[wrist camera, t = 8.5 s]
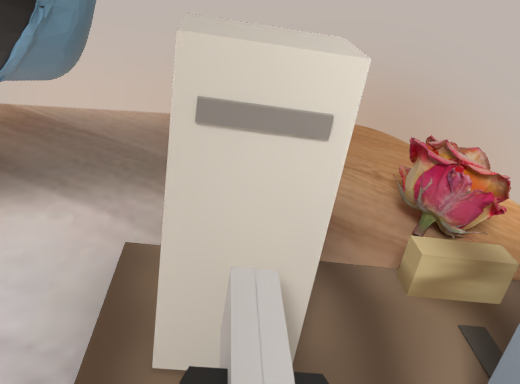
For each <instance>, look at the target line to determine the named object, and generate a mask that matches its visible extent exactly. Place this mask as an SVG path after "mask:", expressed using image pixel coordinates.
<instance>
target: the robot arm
mask: <svg viewBox="0 0 520 384" xmlns="http://www.w3.org/2000/svg"><path fill="white" fill-rule="evenodd" d="M95 4H96V0H0V82H2V81H15V80H16V81H18V80H52V79H56V78H58V77H61V76H63V75H64V74H65V73H67V72H69V71H70V70H71V69H72V68H73V67H74V66H75V65H76V63H77V62H78V60H79V58H80V56H81V55H82V52H83V50H84V48H85V45H86V42H87V39H88V35H89V31H90V28H91V24H92V19H93V14H94V9H95ZM179 384H329V383H328V381H327V380H326V378H325V377H324V375H323V374H319V373H303V372H293V367H292V361H291V354H290V347H289V341H288V334H287V327H286V321H285V314H284V307H283V301H282V294H281V288H280V281H279V274H278V271H275V270H265V269H254V268H243V267H232V266H231V268H230V274H229V280H228V287H227V293H226V300H225V306H224V313H223V319H222V325H221V332H220V368H210V367H195V366H189V367H188V369H187V371H186V372H185V374H184V375H183V377H182V379H181V380H180V382H179Z"/></svg>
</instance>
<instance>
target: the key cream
mask: <svg viewBox="0 0 520 384" xmlns="http://www.w3.org/2000/svg"><path fill="white" fill-rule="evenodd" d="M370 62H371V59H370V58H369V57H368V56H366V55H365V54H364V53H363V52H361V51H360V50H359V49H358V48H356V47H355V46H354V45H353V44H351V43H350V42H349V41H348V40H346V39H345V38H343V37H336V36H330V35H324V34H317V33H311V32H305V31H298V30H292V29H285V28H279V27H273V26H266V25H260V24H253V23H248V22H241V21H234V20H228V19H222V18H216V17H209V16H203V15H197V14H190V13H188V14H187V15H186V17H185V18H184V20H183V21H182V23H181V24H180V26H179V27H178V29H177V34H176V47H175V61H174V75H173V88H172V102H171V115H170V129H169V142H168V156H167V170H166V184H165V197H164V211H163V225H162V238H161V252H160V266H159V280H158V293H157V307H156V321H155V335H154V348H153V362H152V368H159V369H174V370H187V369H188V367H189V366H195V367H210V368H220V332H221V325H222V319H223V313H224V306H225V300H226V293H227V287H228V280H229V274H230V268H231V266H232V267H243V268H254V269H265V270H275V271H278V274H279V281H280V288H281V294H282V301H283V307H284V314H285V321H286V327H287V334H288V341H289V347H290V354H291V361H292V365H293V361H294V357H295V353H296V349H297V345H298V341H299V338H300V334H301V330H302V326H303V322H304V318H305V314H306V310H307V307H308V303H309V299H310V295H311V291H312V287H313V283H314V279H315V276H316V272H317V268H318V264H319V260H320V256H321V252H322V248H323V245H324V241H325V237H326V233H327V229H328V225H329V221H330V217H331V214H332V210H333V206H334V202H335V198H336V194H337V190H338V186H339V183H340V179H341V175H342V171H343V167H344V163H345V159H346V155H347V152H348V148H349V144H350V140H351V136H352V132H353V128H354V125H355V121H356V117H357V113H358V109H359V105H360V101H361V97H362V94H363V90H364V86H365V82H366V78H367V74H368V70H369V66H370Z"/></svg>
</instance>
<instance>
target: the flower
mask: <svg viewBox="0 0 520 384" xmlns="http://www.w3.org/2000/svg"><path fill="white" fill-rule="evenodd" d="M409 152H410V159H411V162H414V163H413V166H412V168H407V167H404V166H400V168H399V173H400V175H401V177H402V182H403V188H401V185H400V183H399V182H398V180H397V184H398V188H399V191H400V195H401V197H402V199H403V201H404V202H405V203H407V204H408V205H409V206H410V207H411V208H413V209H417V210H420V211H421V214H422V217H421V220H420V221H419V223H418V225H417V226H416V228H415V229H414V231H413V234H414V235H415V236H420V237H422V236H423V234H424V233H425V231H426V230H427V228H428V227H429V226H430V225H431V224H432V223H433V224H434V222H436V223H437V224H438V226H439V228H440V230H441V231H443V232H444V233H445V234H447V235H448V236H452V237H453V239H455V238H454V236H456V237H466V236H462V235H460V233H484V234H487V233H485V232H466V231H465V230H467V229H470V228H472V227H473V226H475V225H476V224H478V223H479V222H481V221H483V220H485V219H487V220H488V219H489V218H490V217H491V216H493V215H499V214H505V213H504V211H505V212H506V211H507V209H506V207H503V206H499V204H498V203H500V202H503V201H505V200H506V199H509V191H510V189H511V187H510V180H509V178H510V177H508V176H504V175H500V174H498V173H495V172H492V171H490V164H489V161H488V158H487V156H486V154H485V153H484V152H483V151H482V150H481V149H480V148H461V147H460V148H459V147H458V146H457V145H456V144H455V143H453V142H448V140H443V141H438V140H436V139H435V138H434V137H433V136H432V135H431V136H430V137H428V138H427V140H426V144H424V142H421V141H420V140H418V139H415V138H411V139H410V151H409ZM485 158H486V159H485ZM393 176H394V177H395V175H393ZM395 178H396V177H395ZM396 179H397V178H396ZM434 225H435V224H434ZM456 233H459V234H456ZM487 235H488V234H487ZM466 238H469V237H466ZM469 239H471V238H469ZM471 240H472V239H471ZM472 241H473V240H472Z"/></svg>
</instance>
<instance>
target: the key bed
mask: <svg viewBox="0 0 520 384" xmlns="http://www.w3.org/2000/svg"><path fill="white" fill-rule="evenodd" d="M160 252H161V246H160V245H149V244H139V243H129V242H125V245H124V247H123V250H122V253H121V256H120V259H119V261H118V264H117V267H116V270H115V272H114V275H113V278H112V281H111V283H110V286H109V289H108V292H107V295H106V297H105V300H104V303H103V306H102V308H101V311H100V314H99V317H98V319H97V322H96V325H95V328H94V331H93V333H92V336H91V339H90V342H89V344H88V347H87V350H86V353H85V355H84V358H83V361H82V364H81V367H80V369H79V372H78V375H77V378H76V380H75V383H74V384H179V382H180V380H181V379H182V377H183V375H184V374H185V372H186V371H187V370H174V369H159V368H152V362H153V348H154V335H155V321H156V307H157V293H158V280H159V266H160ZM519 265H520V264H519V263H518V262H517V261H516V260H515V259H514V258H513V257H512V256H511V255H510V253H509V252H508V251H507V250H506V249H505V248H504V247H503V246H502V245H495V244H485V243H476V242H467V241H457V240H448V239H439V238H430V237H420V236H411V235H410V238H409V241H408V244H407V247H406V250H405V252H404V255H403V258H402V261H401V264H400V266H399V269H393V268H383V267H373V266H363V265H353V264H342V263H332V262H322V261H319V264H318V268H317V272H316V276H315V279H314V283H313V287H312V291H311V295H310V299H309V303H308V307H307V310H306V314H305V318H304V322H303V326H302V330H301V334H300V338H299V341H298V345H297V349H296V353H295V357H294V361H293V365H292V367H293V372H303V373H319V374H323V375H324V377H325V378H326V380H327V381H328V383H329V384H488V382H489V380H490V378H491V376H492V375H493V373H494V371H495V369H496V367H497V365H498V363H499V361H500V359H501V358H502V356H503V354H504V352H505V350H506V348H507V346H508V344H509V342H510V341H511V339H512V337H513V335H514V333H515V331H516V329H517V327H518V325H519V324H520V281H515V280H512V279H513V277H514V275H515V273H516V271H517V269H518V267H519Z"/></svg>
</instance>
